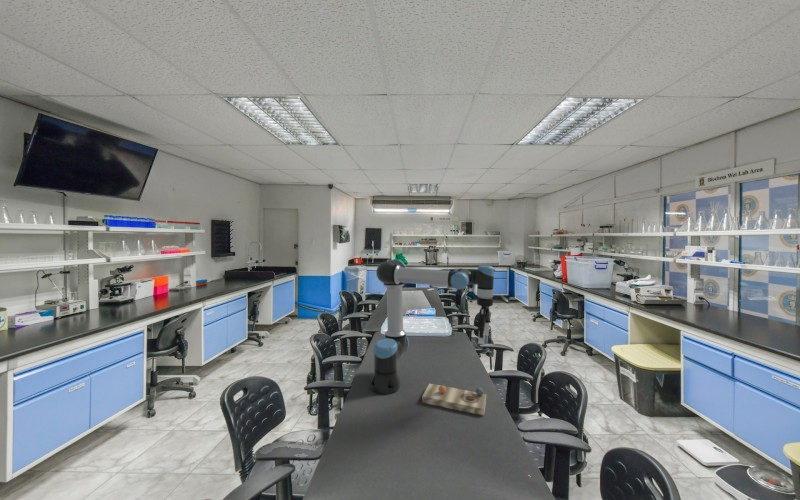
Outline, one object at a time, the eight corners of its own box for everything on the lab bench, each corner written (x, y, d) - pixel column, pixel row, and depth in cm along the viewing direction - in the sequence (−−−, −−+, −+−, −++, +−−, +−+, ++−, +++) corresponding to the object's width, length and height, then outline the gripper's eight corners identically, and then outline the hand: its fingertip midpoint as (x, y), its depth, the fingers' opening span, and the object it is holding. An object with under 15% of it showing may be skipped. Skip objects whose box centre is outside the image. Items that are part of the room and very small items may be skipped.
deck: (422, 402, 140) (422, 396, 140) (429, 389, 152) (429, 383, 152) (483, 415, 130) (484, 409, 130) (486, 400, 142) (486, 394, 142)
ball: (437, 393, 142) (437, 386, 142) (439, 390, 145) (439, 383, 145) (445, 395, 141) (445, 388, 141) (446, 391, 144) (446, 384, 144)
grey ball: (475, 396, 140) (475, 388, 140) (476, 392, 143) (476, 385, 143) (483, 397, 139) (483, 390, 139) (483, 393, 142) (483, 386, 142)
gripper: (489, 303, 134) (487, 349, 135) (496, 293, 157) (494, 333, 158) (472, 301, 137) (470, 346, 139) (481, 292, 160) (480, 330, 161)
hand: (483, 339), depth 148 cm, fingers open, 13 cm apart
